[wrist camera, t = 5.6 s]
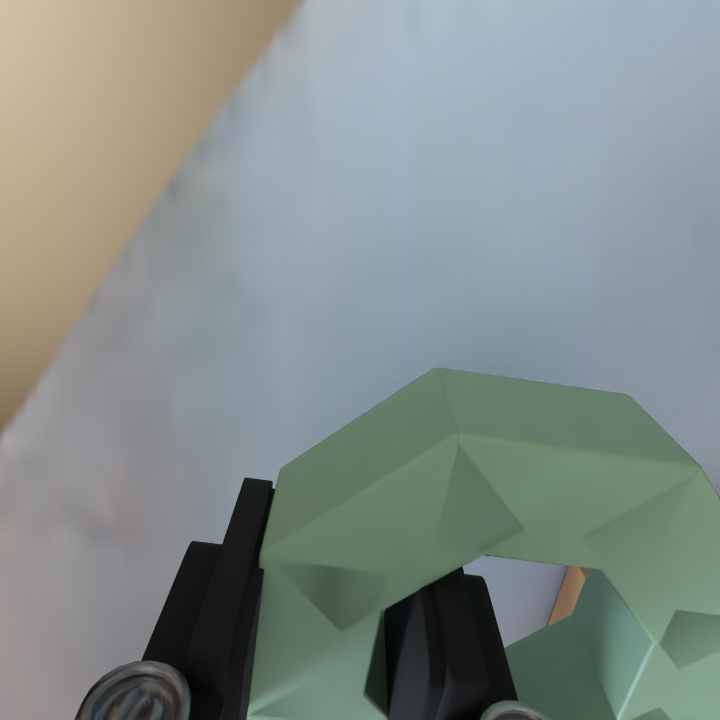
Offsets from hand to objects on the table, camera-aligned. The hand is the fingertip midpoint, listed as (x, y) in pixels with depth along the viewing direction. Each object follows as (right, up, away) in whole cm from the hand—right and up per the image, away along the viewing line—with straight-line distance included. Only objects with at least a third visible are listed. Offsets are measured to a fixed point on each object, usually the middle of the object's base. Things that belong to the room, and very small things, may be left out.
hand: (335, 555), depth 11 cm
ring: (+3, 0, 0) cm, 3 cm away
